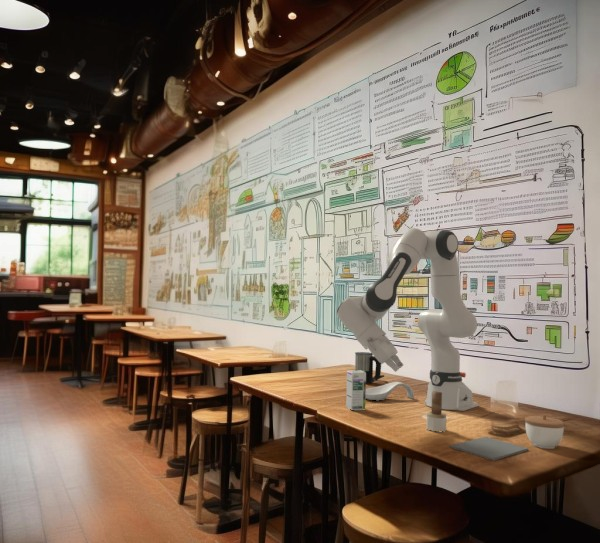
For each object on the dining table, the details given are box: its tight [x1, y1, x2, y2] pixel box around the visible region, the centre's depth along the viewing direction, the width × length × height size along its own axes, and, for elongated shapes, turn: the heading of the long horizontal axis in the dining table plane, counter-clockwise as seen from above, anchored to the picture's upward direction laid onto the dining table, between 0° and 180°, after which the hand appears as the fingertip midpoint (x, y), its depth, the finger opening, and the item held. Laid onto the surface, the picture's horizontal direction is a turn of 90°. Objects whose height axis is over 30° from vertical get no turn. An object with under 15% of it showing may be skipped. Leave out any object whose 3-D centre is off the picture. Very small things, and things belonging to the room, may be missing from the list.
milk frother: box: [354, 351, 385, 385], centre depth 265 cm, size 14×16×15 cm
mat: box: [449, 436, 529, 461], centre depth 152 cm, size 18×14×1 cm
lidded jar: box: [524, 413, 565, 450], centre depth 158 cm, size 11×11×9 cm
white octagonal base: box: [425, 415, 447, 432], centre depth 172 cm, size 6×6×4 cm
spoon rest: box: [365, 381, 415, 402], centre depth 222 cm, size 24×12×7 cm, turn 111°
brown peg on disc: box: [426, 391, 447, 419], centre depth 172 cm, size 6×6×8 cm
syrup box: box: [345, 370, 367, 411], centre depth 199 cm, size 6×6×14 cm
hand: (399, 368), depth 177 cm, fingers open, 8 cm apart
